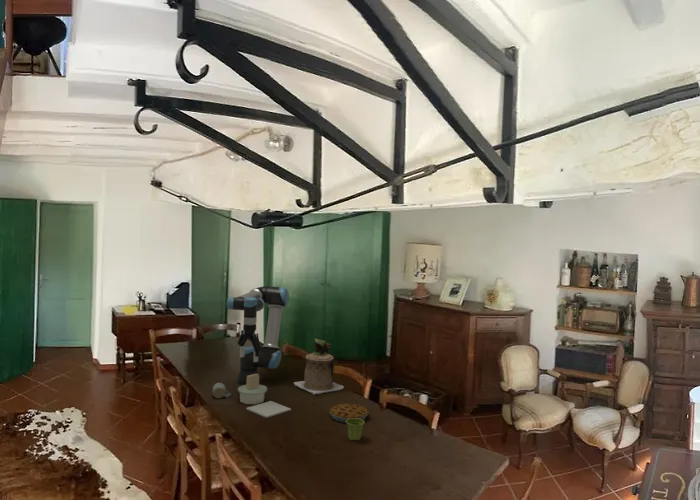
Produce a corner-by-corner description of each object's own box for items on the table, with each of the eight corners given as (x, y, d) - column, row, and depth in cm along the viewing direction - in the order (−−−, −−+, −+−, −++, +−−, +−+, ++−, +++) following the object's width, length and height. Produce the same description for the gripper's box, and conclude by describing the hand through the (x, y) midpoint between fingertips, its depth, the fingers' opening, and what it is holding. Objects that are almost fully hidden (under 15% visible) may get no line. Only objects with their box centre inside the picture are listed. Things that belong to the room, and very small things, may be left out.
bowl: (254, 394, 335) (254, 385, 335) (268, 400, 326) (268, 390, 326) (235, 399, 325) (236, 390, 324) (250, 405, 316) (250, 395, 315)
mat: (270, 402, 323) (270, 400, 323) (291, 410, 311) (291, 408, 311) (246, 409, 310) (246, 407, 310) (266, 417, 298) (266, 416, 298)
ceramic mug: (212, 399, 324) (213, 386, 324) (212, 394, 332) (213, 382, 332) (230, 398, 327) (231, 386, 326) (230, 394, 335) (230, 382, 334)
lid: (254, 384, 337) (255, 369, 336) (272, 390, 326) (273, 375, 325) (232, 389, 324) (232, 374, 324) (249, 396, 313) (250, 381, 312)
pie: (373, 413, 311) (373, 405, 311) (361, 427, 291) (361, 417, 290) (337, 408, 318) (337, 399, 318) (323, 420, 298) (323, 411, 297)
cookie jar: (315, 396, 338) (317, 345, 336) (292, 386, 356) (293, 337, 355) (345, 389, 354) (347, 340, 352) (321, 379, 373) (323, 333, 371)
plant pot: (352, 433, 281) (352, 416, 281) (367, 437, 276) (368, 421, 276) (341, 438, 274) (342, 421, 273) (357, 443, 268) (357, 426, 268)
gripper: (232, 321, 328) (231, 356, 329) (257, 328, 311) (256, 364, 312) (242, 319, 333) (241, 354, 334) (268, 326, 316) (266, 362, 317)
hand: (248, 359), depth 323 cm, fingers open, 13 cm apart
